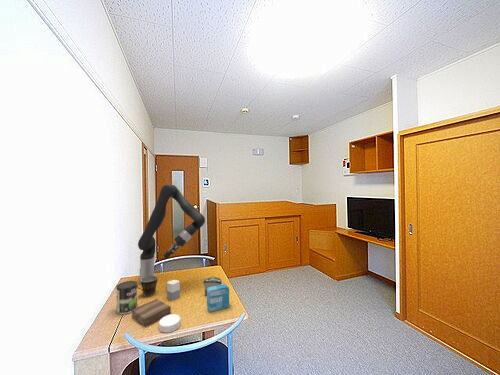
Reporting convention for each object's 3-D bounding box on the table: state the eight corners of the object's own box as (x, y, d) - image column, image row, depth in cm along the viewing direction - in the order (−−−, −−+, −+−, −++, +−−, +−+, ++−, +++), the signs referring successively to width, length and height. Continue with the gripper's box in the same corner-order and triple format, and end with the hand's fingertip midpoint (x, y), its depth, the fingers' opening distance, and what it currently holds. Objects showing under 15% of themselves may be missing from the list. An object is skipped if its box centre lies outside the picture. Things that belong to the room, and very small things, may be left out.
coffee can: (141, 306, 126) (141, 281, 126) (125, 316, 117) (125, 289, 117) (128, 303, 130) (128, 279, 130) (112, 312, 120) (111, 287, 120)
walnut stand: (132, 317, 115) (132, 309, 115) (156, 305, 127) (156, 298, 127) (145, 327, 107) (145, 319, 107) (170, 313, 118) (170, 306, 118)
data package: (208, 312, 119) (208, 290, 119) (206, 308, 123) (206, 287, 123) (229, 307, 124) (229, 286, 124) (226, 303, 128) (226, 283, 128)
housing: (166, 298, 135) (166, 282, 135) (174, 294, 139) (174, 279, 139) (172, 301, 132) (171, 284, 132) (179, 297, 136) (179, 281, 136)
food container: (224, 292, 142) (224, 276, 142) (222, 296, 136) (221, 280, 136) (206, 291, 143) (205, 276, 143) (203, 296, 137) (202, 280, 137)
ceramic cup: (152, 289, 147) (152, 274, 147) (160, 293, 142) (160, 277, 142) (132, 297, 137) (132, 281, 137) (141, 301, 131) (141, 285, 131)
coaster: (184, 321, 112) (183, 314, 112) (174, 334, 102) (174, 326, 102) (166, 319, 113) (166, 312, 113) (154, 332, 103) (154, 324, 103)
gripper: (178, 234, 154) (160, 252, 148) (179, 234, 141) (160, 254, 135) (185, 241, 155) (168, 259, 149) (188, 242, 142) (169, 262, 136)
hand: (164, 257), depth 142 cm, fingers open, 8 cm apart
